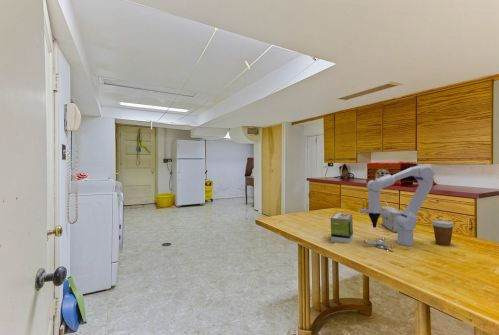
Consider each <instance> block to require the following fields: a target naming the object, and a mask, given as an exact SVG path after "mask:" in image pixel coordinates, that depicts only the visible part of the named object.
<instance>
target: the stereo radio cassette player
mask: <svg viewBox="0 0 499 335" xmlns="http://www.w3.org/2000/svg"><path fill="white" fill-rule="evenodd" d="M384 202H385V204H386V205H387V206H380V210H383V211H390V216H389V215H381V224H382V226H384V227H385V228H387V229H389V230H390V231H391V232H393V233H398V228H397V227H398V225H397V224H396V222H395V219H396V217H397V216H399V215H400V214H401V212H403V210H400V209H398V208H395V207H393V206H389V204H388V203H387V201H386V200H384Z"/></svg>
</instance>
